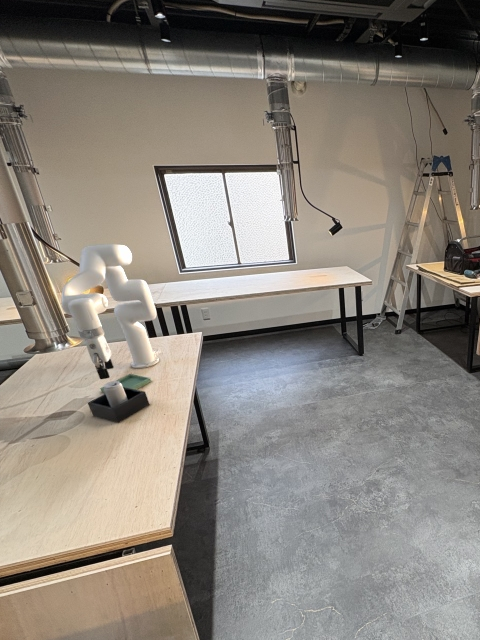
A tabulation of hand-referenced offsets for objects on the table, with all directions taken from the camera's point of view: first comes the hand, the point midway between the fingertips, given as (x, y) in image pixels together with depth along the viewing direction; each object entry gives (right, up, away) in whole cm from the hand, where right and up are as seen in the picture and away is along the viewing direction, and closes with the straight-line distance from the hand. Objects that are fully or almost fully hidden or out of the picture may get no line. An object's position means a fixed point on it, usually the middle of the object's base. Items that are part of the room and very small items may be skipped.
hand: (107, 373), depth 161 cm
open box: (0, -15, +8) cm, 17 cm away
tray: (-9, -5, +27) cm, 29 cm away
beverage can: (0, -15, +8) cm, 17 cm away
